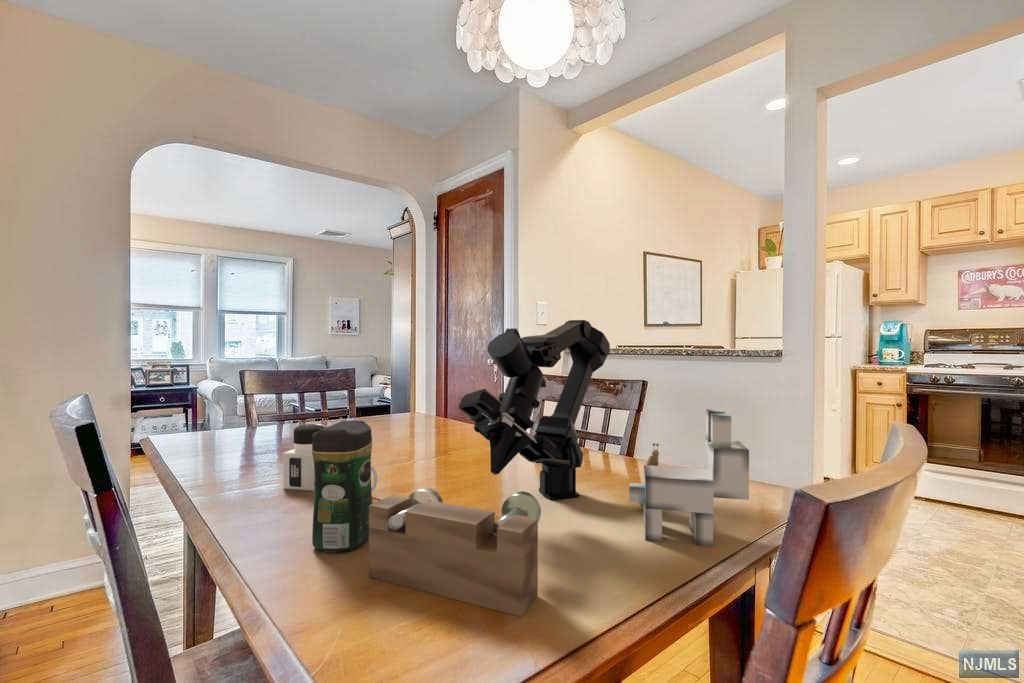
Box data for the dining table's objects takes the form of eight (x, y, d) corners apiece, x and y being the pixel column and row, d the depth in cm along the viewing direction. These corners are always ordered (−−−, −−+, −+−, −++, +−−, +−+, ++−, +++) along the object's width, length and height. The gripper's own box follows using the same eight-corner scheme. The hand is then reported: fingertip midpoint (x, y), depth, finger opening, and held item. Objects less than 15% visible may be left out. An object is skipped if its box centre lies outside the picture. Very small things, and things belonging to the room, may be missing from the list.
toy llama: (628, 521, 85) (629, 406, 85) (737, 531, 81) (738, 410, 81) (629, 538, 78) (629, 412, 78) (748, 549, 74) (749, 416, 74)
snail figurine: (670, 508, 92) (670, 444, 92) (665, 519, 86) (666, 451, 86) (641, 503, 95) (641, 441, 95) (634, 514, 89) (634, 448, 89)
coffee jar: (332, 528, 82) (332, 416, 82) (378, 530, 81) (379, 417, 81) (302, 553, 72) (302, 427, 72) (354, 555, 71) (355, 428, 71)
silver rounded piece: (413, 520, 71) (414, 485, 71) (443, 525, 68) (443, 489, 68) (378, 539, 64) (378, 501, 64) (409, 546, 61) (410, 506, 61)
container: (315, 491, 102) (315, 428, 102) (282, 489, 103) (282, 427, 103) (335, 481, 109) (336, 422, 109) (304, 479, 111) (305, 421, 111)
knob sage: (507, 524, 69) (507, 489, 69) (540, 530, 67) (541, 494, 67) (481, 545, 62) (481, 505, 62) (517, 552, 60) (518, 511, 60)
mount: (393, 561, 69) (393, 494, 69) (537, 595, 60) (537, 518, 60) (368, 577, 65) (369, 505, 65) (521, 616, 56) (521, 532, 56)
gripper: (524, 428, 97) (500, 503, 87) (455, 374, 89) (421, 450, 79) (567, 418, 89) (546, 499, 80) (496, 358, 81) (464, 440, 72)
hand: (494, 473), depth 78 cm, fingers closed
